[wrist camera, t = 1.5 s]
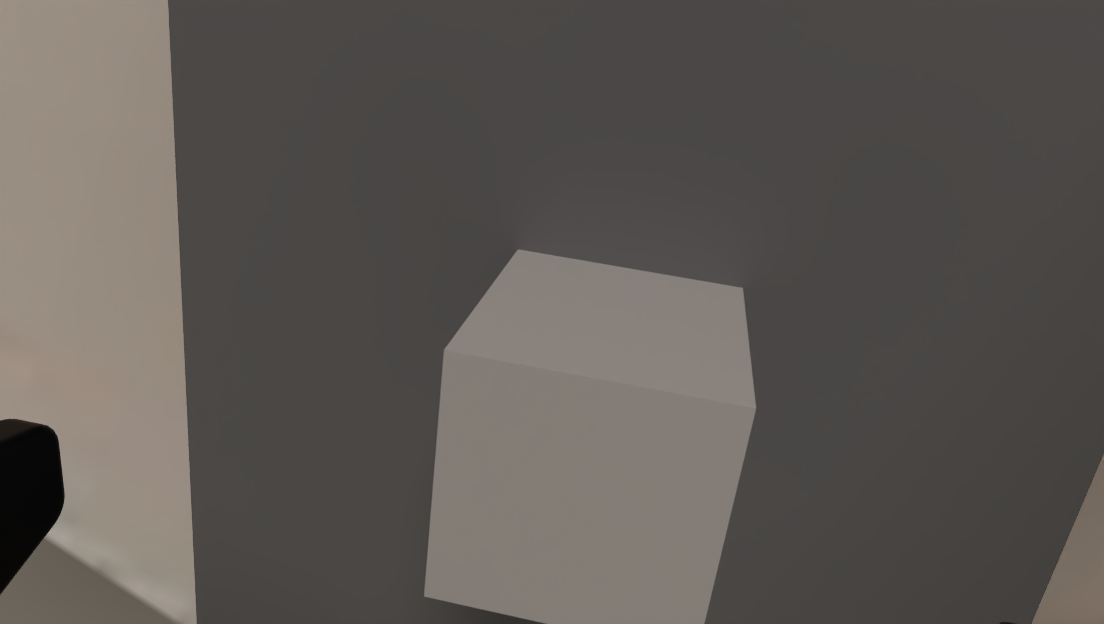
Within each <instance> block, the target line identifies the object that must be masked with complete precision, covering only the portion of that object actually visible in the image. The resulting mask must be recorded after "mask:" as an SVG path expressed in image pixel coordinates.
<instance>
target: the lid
mask: <svg viewBox="0 0 1104 624" xmlns="http://www.w3.org/2000/svg"><path fill="white" fill-rule="evenodd" d="M168 7H169V28H170V50H171V72H172V93H173V115H174V137H175V158H176V180H177V202H178V223H179V245H180V267H181V288H182V310H183V332H184V353H185V375H186V397H187V418H188V440H189V462H190V483H191V505H192V527H193V548H194V570H195V592H196V613H197V624H999V623H1001V622H1011V623H1016V624H1031V623H1032V621H1033V618H1034V616H1035V614H1036V611H1037V609H1038V607H1039V604H1040V602H1041V599H1042V597H1043V595H1044V592H1045V590H1046V588H1047V585H1048V583H1049V581H1050V578H1051V576H1052V574H1053V571H1054V569H1055V567H1056V564H1057V562H1058V560H1059V557H1060V555H1061V552H1062V550H1063V548H1064V545H1065V543H1066V541H1067V538H1068V536H1069V534H1070V531H1071V529H1072V527H1073V524H1074V522H1075V520H1076V517H1077V515H1078V513H1079V510H1080V508H1081V505H1082V503H1083V501H1084V498H1085V496H1086V494H1087V491H1088V489H1089V487H1090V484H1091V482H1092V480H1093V477H1094V475H1095V473H1096V470H1097V468H1098V466H1099V463H1100V461H1101V458H1102V456H1103V454H1104V0H168Z"/></svg>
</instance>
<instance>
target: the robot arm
mask: <svg viewBox="0 0 1104 624" xmlns="http://www.w3.org/2000/svg"><path fill="white" fill-rule="evenodd" d="M63 504H64V485H63V476H62V467H61V458H60V449H59V441H58V437H57V435H56V433H55V432H54V430H53V429H51V428H50V427H49V426H47V425H43V424H38V423H33V422H28V421H23V420H18V419H5V420H1V421H0V594H1V593H2V592H3V590H4V589H5V588H6V586H7V585H8V584H9V583H10V581H11V580H12V579H13V577H14V576H15V574H17V572H18V571H19V570H20V568H21V567H22V566H23V564H24V563H25V562H26V561H27V559H28V558H29V557H30V555H31V554H32V553H33V551H34V550H35V549H36V547H37V546H38V545H39V544H40V542H41V541H42V539H43V538H44V537H45V536H46V534H47V533H48V532H49V531H50V529H51V528H52V527H53V525H54V524H55V523H56V521H57V519H58V517H59V515H60V513H61V511H62V508H63ZM999 624H1016V623H1011V622H1001V623H999Z"/></svg>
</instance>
